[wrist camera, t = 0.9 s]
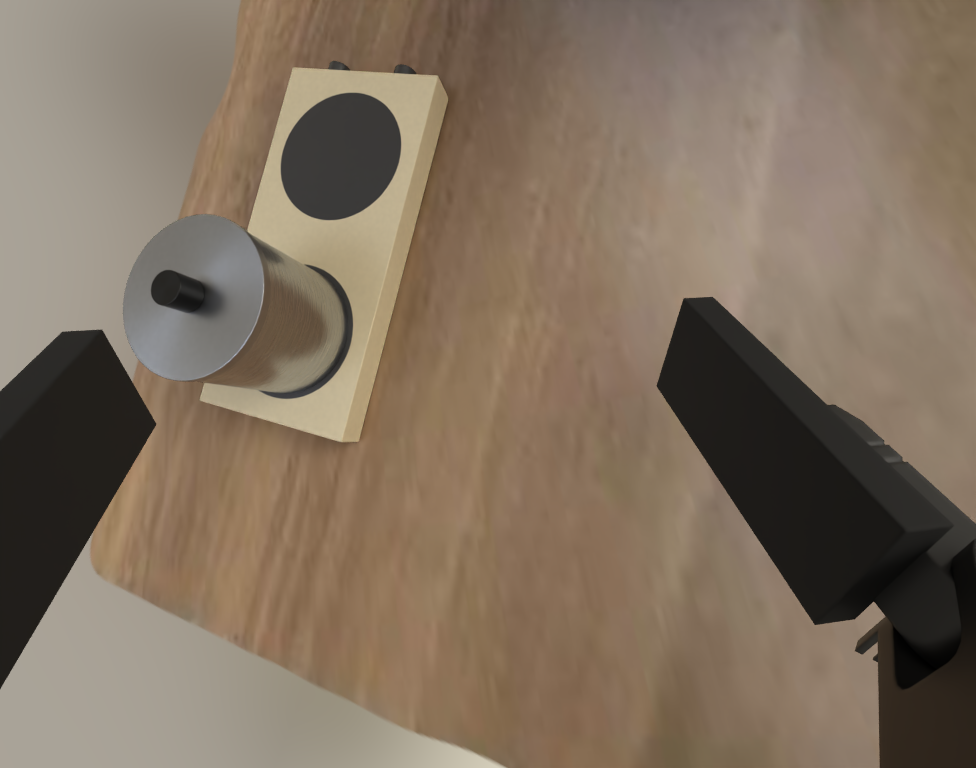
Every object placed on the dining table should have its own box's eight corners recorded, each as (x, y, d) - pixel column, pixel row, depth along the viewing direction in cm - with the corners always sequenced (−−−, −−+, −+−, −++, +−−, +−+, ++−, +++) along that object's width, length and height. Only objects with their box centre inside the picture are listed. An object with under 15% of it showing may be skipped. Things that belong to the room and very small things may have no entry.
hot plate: (314, 77, 41) (295, 55, 39) (452, 86, 38) (441, 62, 35) (223, 402, 39) (198, 400, 37) (358, 442, 36) (341, 442, 34)
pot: (255, 258, 37) (123, 190, 27) (364, 279, 35) (263, 212, 24) (222, 379, 37) (74, 356, 27) (329, 408, 34) (212, 396, 24)
